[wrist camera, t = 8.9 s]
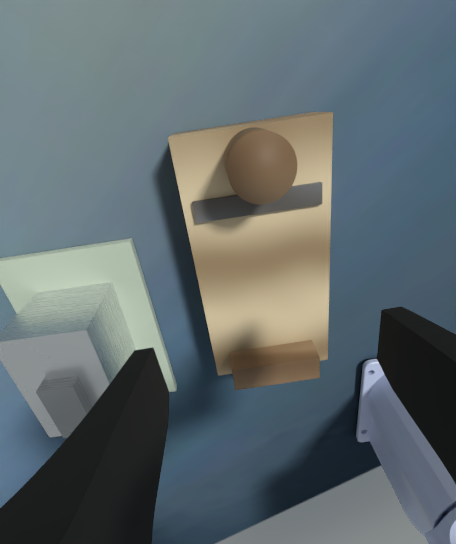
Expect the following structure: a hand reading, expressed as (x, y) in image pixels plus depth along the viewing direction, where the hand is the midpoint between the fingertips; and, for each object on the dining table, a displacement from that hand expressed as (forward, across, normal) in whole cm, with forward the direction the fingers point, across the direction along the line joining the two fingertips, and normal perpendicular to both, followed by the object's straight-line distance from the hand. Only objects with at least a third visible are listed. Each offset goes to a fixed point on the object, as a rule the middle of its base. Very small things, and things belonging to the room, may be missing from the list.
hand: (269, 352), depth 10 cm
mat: (+9, +10, +5) cm, 15 cm away
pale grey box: (+9, +10, +4) cm, 14 cm away
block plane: (+9, -1, +1) cm, 9 cm away
